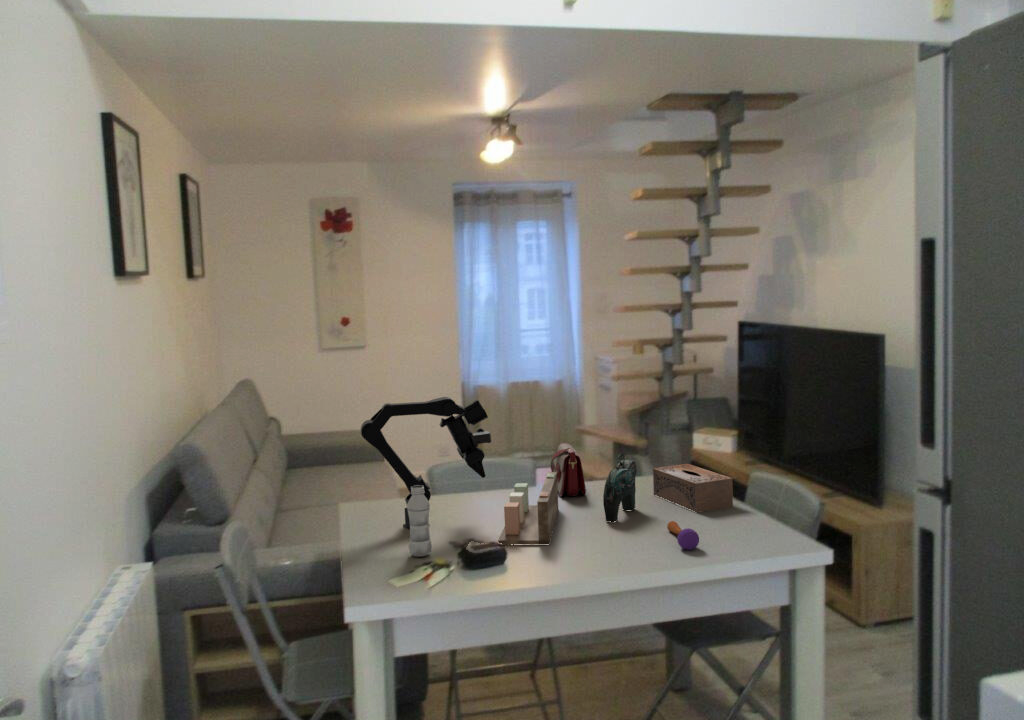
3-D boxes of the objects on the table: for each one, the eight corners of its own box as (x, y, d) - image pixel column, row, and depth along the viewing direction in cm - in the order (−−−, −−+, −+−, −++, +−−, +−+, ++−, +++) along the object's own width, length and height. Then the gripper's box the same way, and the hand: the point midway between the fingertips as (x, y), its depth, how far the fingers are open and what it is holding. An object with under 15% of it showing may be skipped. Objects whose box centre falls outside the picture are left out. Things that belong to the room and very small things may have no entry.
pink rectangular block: (505, 534, 239) (504, 506, 238) (507, 529, 243) (506, 502, 242) (518, 534, 238) (517, 506, 237) (520, 529, 243) (519, 502, 242)
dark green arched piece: (624, 506, 270) (623, 448, 269) (642, 508, 267) (641, 449, 265) (600, 522, 253) (598, 460, 252) (619, 524, 250) (617, 461, 248)
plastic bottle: (420, 550, 233) (417, 483, 231) (437, 554, 228) (433, 485, 227) (404, 556, 228) (400, 487, 226) (420, 561, 223) (417, 490, 222)
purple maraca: (683, 518, 241) (703, 532, 222) (680, 537, 241) (700, 553, 221) (664, 515, 241) (682, 529, 221) (661, 535, 241) (679, 551, 221)
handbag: (549, 481, 310) (548, 437, 309) (576, 480, 311) (575, 436, 309) (557, 500, 282) (556, 451, 281) (587, 498, 283) (585, 450, 281)
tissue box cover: (653, 496, 283) (653, 468, 283) (688, 490, 289) (687, 463, 288) (696, 513, 260) (695, 483, 259) (732, 507, 265) (732, 478, 264)
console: (498, 545, 234) (496, 500, 233) (514, 509, 272) (512, 470, 271) (549, 545, 232) (547, 500, 231) (558, 509, 270) (557, 470, 269)
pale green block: (515, 512, 262) (514, 486, 262) (516, 508, 267) (515, 483, 266) (527, 512, 262) (526, 486, 261) (528, 508, 266) (527, 483, 266)
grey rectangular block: (510, 522, 250) (509, 496, 250) (512, 518, 255) (511, 492, 254) (523, 522, 250) (522, 496, 249) (524, 518, 254) (523, 492, 254)
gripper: (487, 425, 250) (509, 468, 252) (477, 416, 268) (497, 456, 271) (455, 442, 248) (478, 485, 251) (447, 432, 266) (468, 472, 269)
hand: (481, 474), depth 260 cm, fingers open, 9 cm apart
